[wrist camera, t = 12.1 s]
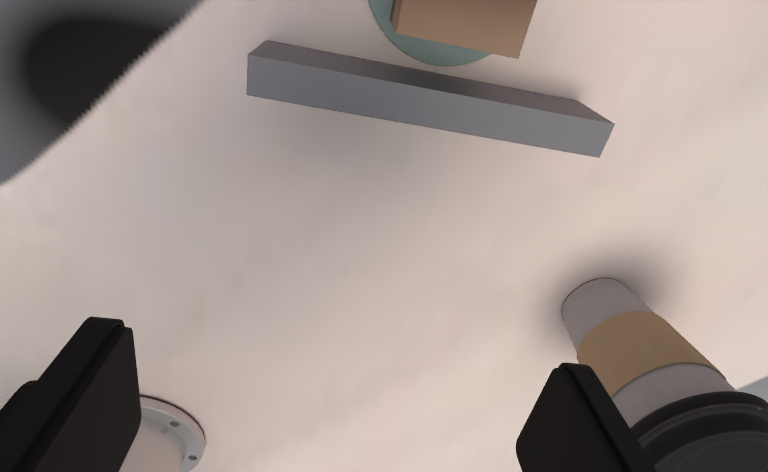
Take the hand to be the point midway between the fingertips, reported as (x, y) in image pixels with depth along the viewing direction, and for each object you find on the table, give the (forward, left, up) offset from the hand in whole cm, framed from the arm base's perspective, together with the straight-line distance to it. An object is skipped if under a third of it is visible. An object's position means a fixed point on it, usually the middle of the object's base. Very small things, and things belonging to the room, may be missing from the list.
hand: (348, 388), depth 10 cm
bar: (+4, -1, -22) cm, 22 cm away
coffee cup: (+7, -25, -22) cm, 34 cm away
